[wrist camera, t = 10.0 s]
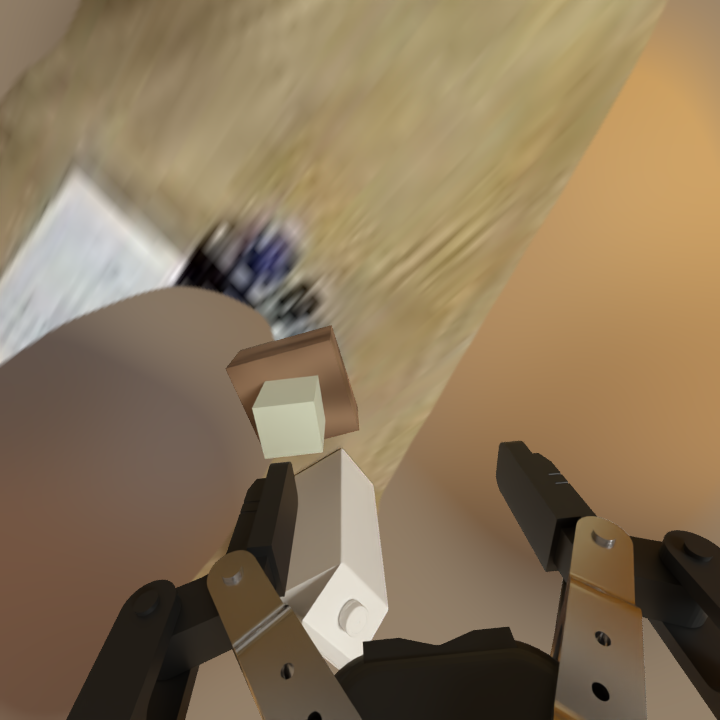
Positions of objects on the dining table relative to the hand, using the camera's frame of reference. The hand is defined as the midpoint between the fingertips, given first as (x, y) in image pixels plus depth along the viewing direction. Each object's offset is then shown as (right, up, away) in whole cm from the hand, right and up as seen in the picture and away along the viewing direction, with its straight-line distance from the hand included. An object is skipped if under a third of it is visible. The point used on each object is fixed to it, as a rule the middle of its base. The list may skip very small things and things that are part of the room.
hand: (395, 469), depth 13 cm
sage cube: (-8, 0, +20) cm, 21 cm away
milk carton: (-5, -11, +30) cm, 32 cm away
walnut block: (-8, +2, +24) cm, 26 cm away
